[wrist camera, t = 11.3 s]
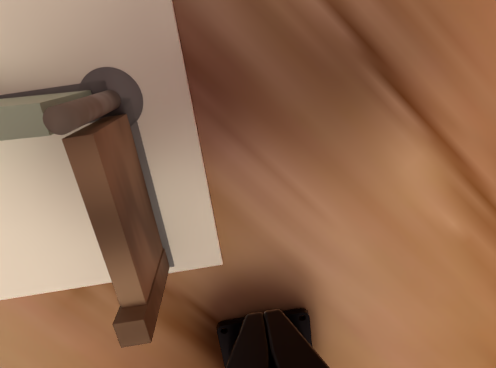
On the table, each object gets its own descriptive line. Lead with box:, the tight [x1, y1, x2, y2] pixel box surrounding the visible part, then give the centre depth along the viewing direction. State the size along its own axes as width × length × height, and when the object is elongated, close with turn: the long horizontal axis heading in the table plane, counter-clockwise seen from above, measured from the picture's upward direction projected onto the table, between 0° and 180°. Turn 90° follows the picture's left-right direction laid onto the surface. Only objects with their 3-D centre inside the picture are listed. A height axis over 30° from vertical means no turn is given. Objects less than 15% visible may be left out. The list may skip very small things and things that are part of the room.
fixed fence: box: [43, 90, 170, 348], centre depth 16 cm, size 11×1×6 cm, turn 8°
